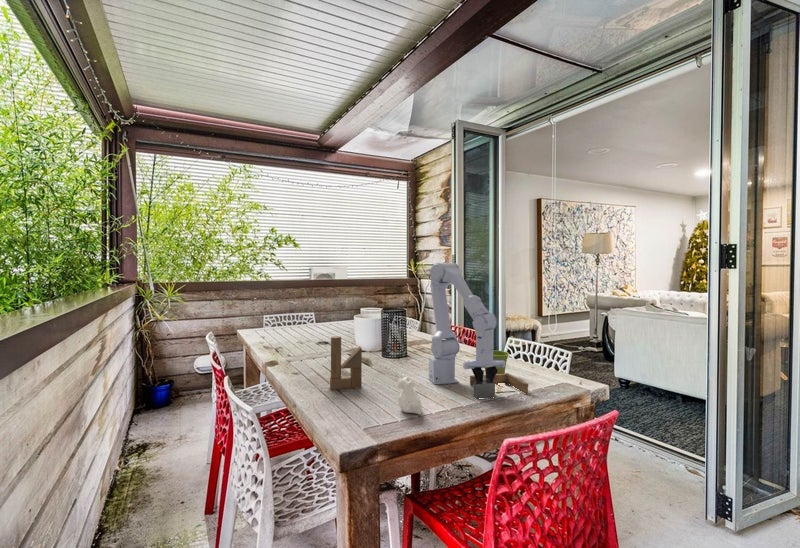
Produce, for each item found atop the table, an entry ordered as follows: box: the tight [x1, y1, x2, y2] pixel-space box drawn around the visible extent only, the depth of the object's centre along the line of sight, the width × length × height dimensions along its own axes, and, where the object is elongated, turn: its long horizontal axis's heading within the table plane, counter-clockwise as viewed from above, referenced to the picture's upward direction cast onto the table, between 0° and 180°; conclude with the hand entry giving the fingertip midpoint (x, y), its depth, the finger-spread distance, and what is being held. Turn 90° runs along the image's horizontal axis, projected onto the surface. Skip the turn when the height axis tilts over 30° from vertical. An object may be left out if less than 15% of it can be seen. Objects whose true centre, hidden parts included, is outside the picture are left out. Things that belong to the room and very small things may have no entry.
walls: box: [469, 372, 529, 394], centre depth 143 cm, size 15×14×3 cm
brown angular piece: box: [329, 335, 363, 390], centre depth 144 cm, size 4×11×18 cm, turn 103°
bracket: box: [473, 376, 496, 400], centre depth 136 cm, size 8×6×5 cm
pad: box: [496, 384, 504, 393], centre depth 143 cm, size 10×8×1 cm
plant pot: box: [493, 349, 510, 374], centre depth 162 cm, size 9×9×9 cm
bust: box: [396, 376, 423, 415], centre depth 121 cm, size 12×8×11 cm
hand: (484, 389), depth 138 cm, fingers closed on bracket, 2 cm apart
